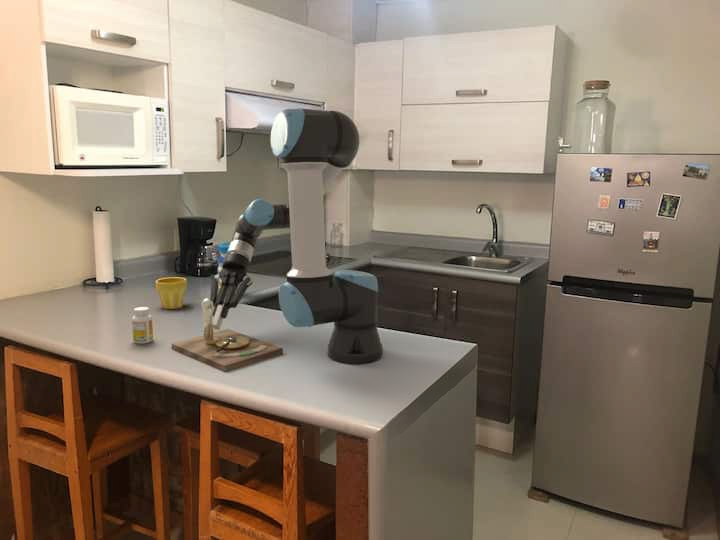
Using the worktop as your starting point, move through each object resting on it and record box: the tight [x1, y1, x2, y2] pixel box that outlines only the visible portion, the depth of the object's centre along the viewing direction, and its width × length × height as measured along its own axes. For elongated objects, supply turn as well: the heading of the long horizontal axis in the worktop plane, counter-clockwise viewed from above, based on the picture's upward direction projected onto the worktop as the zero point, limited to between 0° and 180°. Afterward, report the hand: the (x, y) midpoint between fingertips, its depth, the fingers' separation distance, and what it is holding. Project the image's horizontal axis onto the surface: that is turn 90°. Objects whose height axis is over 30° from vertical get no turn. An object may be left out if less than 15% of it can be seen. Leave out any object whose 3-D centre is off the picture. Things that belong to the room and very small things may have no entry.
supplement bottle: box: [131, 306, 154, 344], centre depth 167 cm, size 5×5×10 cm
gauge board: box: [171, 328, 284, 372], centre depth 161 cm, size 25×19×2 cm
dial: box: [201, 298, 249, 352], centre depth 159 cm, size 13×13×13 cm
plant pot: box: [155, 276, 188, 310], centre depth 205 cm, size 10×10×10 cm
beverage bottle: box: [217, 243, 241, 298], centre depth 219 cm, size 8×8×20 cm
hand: (215, 327), depth 164 cm, fingers closed
